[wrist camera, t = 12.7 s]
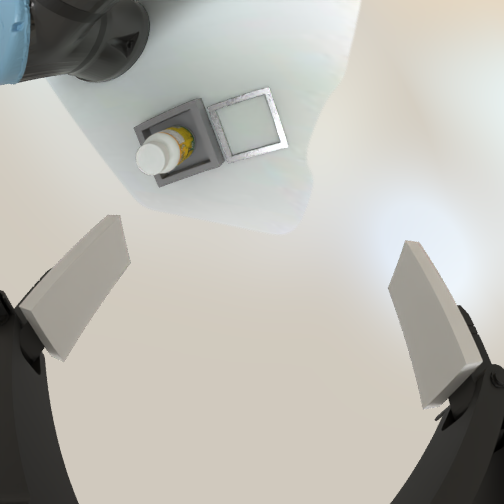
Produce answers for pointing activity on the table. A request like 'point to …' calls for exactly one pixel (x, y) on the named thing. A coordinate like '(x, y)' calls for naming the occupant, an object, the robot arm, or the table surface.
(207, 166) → the bin
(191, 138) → the supplement bottle
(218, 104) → the socket collar
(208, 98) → the table surface
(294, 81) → the table surface
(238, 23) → the table surface
